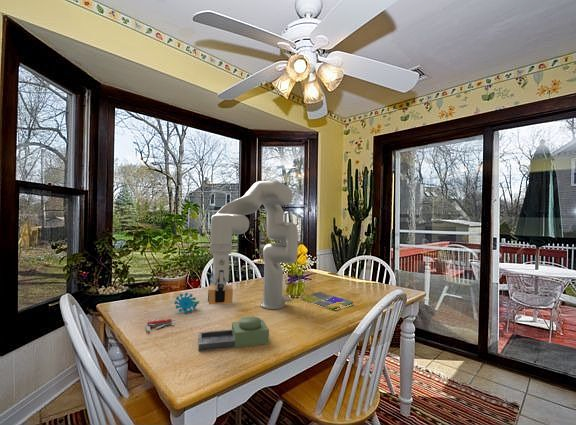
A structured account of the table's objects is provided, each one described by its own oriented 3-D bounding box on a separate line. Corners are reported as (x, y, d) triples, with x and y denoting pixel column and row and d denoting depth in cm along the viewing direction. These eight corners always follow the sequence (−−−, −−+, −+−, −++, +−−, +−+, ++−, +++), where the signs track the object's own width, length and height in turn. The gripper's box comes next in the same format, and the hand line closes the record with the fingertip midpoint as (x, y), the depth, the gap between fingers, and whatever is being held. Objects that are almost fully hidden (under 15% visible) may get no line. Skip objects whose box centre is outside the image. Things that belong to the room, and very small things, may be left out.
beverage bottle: (222, 302, 148) (223, 263, 148) (206, 301, 149) (208, 262, 149) (228, 298, 156) (229, 261, 156) (213, 296, 158) (214, 260, 158)
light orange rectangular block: (231, 298, 107) (231, 284, 107) (232, 303, 101) (232, 289, 102) (207, 299, 105) (208, 285, 105) (207, 304, 99) (208, 290, 99)
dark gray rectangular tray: (231, 335, 110) (231, 329, 110) (234, 347, 100) (235, 340, 100) (198, 338, 106) (198, 332, 106) (198, 351, 96) (198, 344, 96)
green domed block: (262, 332, 113) (263, 314, 113) (268, 343, 104) (269, 324, 104) (231, 335, 110) (232, 316, 110) (234, 347, 100) (235, 327, 100)
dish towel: (332, 312, 140) (333, 307, 140) (299, 300, 159) (299, 295, 159) (355, 306, 152) (355, 301, 152) (321, 295, 170) (321, 290, 170)
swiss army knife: (175, 317, 126) (175, 313, 126) (179, 329, 114) (179, 324, 114) (145, 321, 120) (145, 317, 120) (147, 334, 108) (147, 328, 108)
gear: (174, 311, 128) (175, 291, 135) (171, 317, 132) (173, 297, 139) (199, 312, 133) (199, 292, 140) (196, 318, 136) (197, 298, 143)
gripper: (234, 252, 96) (232, 306, 96) (229, 246, 113) (227, 292, 113) (211, 252, 94) (209, 307, 94) (209, 246, 110) (207, 293, 110)
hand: (219, 298), depth 103 cm, fingers closed on light orange rectangular block, 6 cm apart
